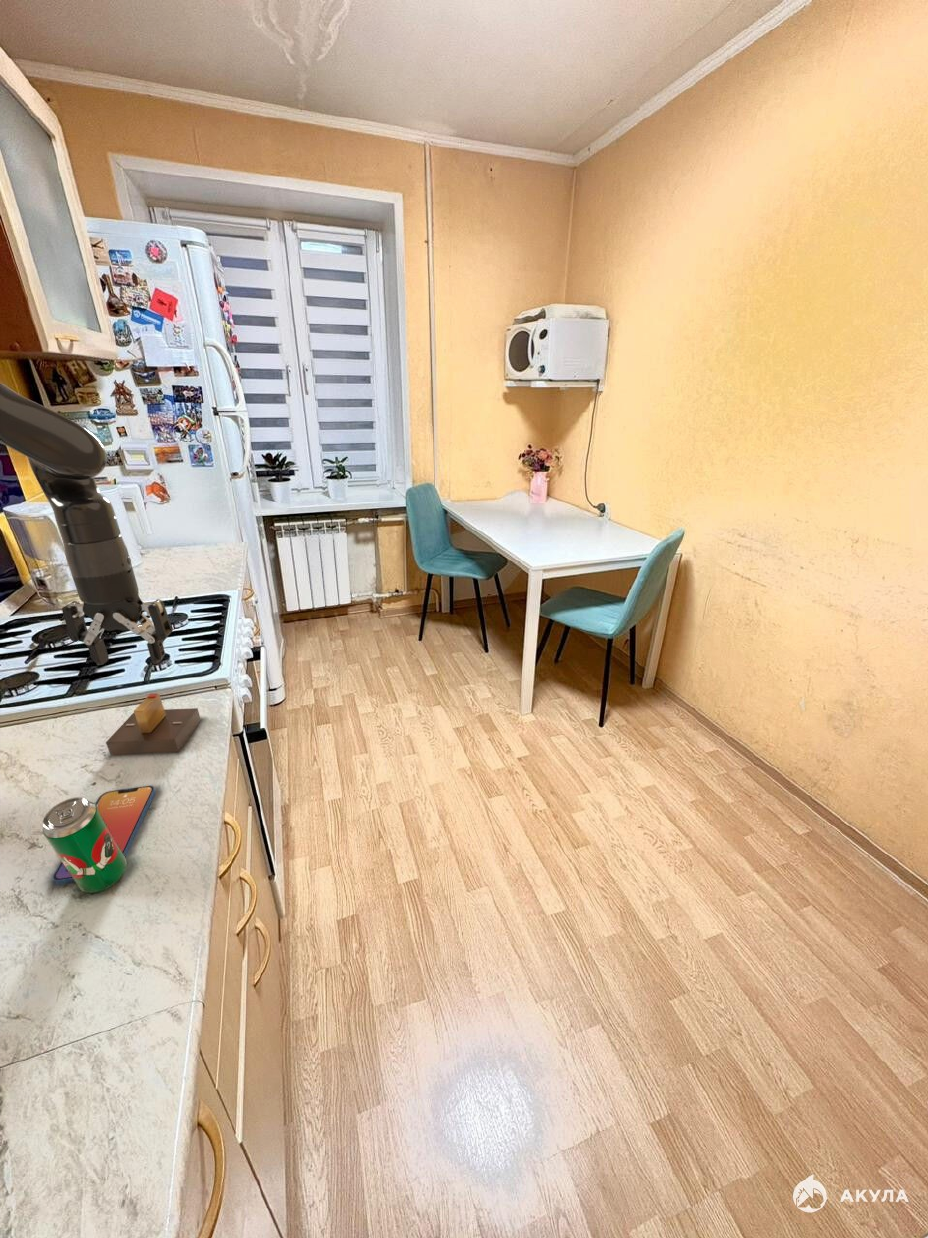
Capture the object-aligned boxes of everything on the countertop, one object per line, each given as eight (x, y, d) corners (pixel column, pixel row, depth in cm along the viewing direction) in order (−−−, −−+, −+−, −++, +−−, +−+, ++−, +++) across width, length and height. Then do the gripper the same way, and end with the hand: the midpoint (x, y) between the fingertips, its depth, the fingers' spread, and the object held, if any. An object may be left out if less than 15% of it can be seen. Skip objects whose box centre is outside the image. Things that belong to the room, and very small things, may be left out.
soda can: (124, 849, 65) (90, 787, 59) (131, 879, 62) (96, 816, 55) (78, 872, 62) (37, 809, 56) (82, 904, 59) (39, 841, 53)
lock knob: (150, 733, 83) (142, 709, 82) (141, 733, 83) (133, 709, 82) (166, 715, 88) (159, 692, 86) (157, 715, 88) (149, 692, 86)
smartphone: (51, 888, 61) (48, 882, 60) (103, 797, 74) (101, 792, 74) (118, 876, 62) (116, 871, 62) (158, 789, 75) (156, 784, 75)
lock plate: (111, 757, 83) (105, 741, 81) (139, 724, 91) (134, 709, 90) (179, 753, 83) (174, 738, 82) (201, 721, 91) (197, 707, 90)
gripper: (33, 576, 70) (70, 675, 77) (138, 574, 71) (165, 672, 78) (67, 560, 77) (98, 652, 84) (163, 558, 78) (186, 649, 85)
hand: (130, 661), depth 81 cm, fingers open, 8 cm apart
